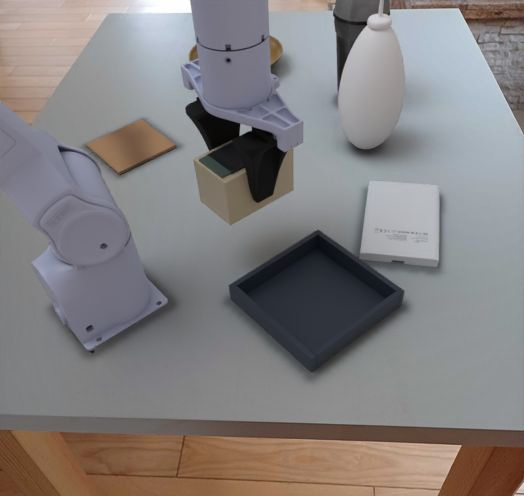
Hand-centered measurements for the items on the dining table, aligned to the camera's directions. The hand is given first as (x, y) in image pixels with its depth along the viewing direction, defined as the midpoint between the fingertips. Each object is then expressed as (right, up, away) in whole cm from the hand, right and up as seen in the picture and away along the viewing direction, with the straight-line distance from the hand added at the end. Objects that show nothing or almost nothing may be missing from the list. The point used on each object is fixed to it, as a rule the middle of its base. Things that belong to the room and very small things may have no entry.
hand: (245, 184), depth 51 cm
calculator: (0, -1, +1) cm, 1 cm away
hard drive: (+17, -2, +8) cm, 19 cm away
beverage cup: (+15, +20, +25) cm, 35 cm away
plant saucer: (-2, +29, +33) cm, 44 cm away
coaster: (-16, +12, +21) cm, 29 cm away
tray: (+7, -12, +2) cm, 14 cm away
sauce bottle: (+15, +11, +18) cm, 26 cm away
